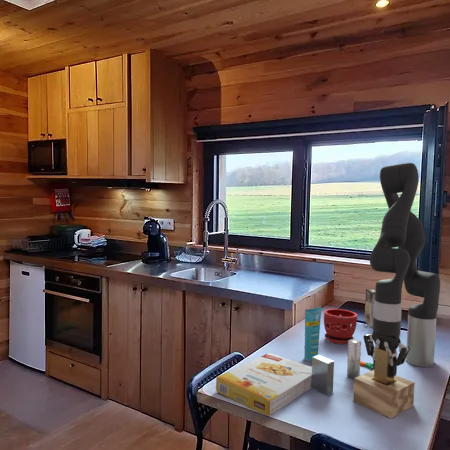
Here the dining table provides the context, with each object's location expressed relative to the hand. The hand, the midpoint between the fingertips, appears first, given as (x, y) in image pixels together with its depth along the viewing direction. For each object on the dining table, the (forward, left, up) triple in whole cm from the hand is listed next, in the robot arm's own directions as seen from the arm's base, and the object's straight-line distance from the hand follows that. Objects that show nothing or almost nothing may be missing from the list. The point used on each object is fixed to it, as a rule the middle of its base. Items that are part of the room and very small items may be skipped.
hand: (384, 374), depth 124 cm
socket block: (0, 0, -9) cm, 9 cm away
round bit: (-8, -16, -9) cm, 20 cm away
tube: (-8, -34, -9) cm, 36 cm away
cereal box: (+20, -27, -10) cm, 35 cm away
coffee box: (-63, -44, -9) cm, 77 cm away
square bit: (0, 0, -4) cm, 4 cm away
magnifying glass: (-20, -17, -10) cm, 28 cm away
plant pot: (-32, -40, -9) cm, 52 cm away
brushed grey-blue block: (+8, -16, -9) cm, 20 cm away
